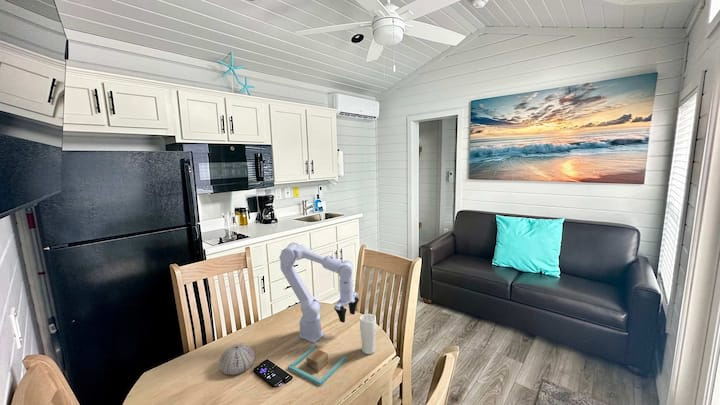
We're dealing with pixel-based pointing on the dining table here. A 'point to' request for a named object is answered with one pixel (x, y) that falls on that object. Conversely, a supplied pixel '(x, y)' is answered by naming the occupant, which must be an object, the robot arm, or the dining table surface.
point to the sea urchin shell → (237, 359)
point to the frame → (308, 376)
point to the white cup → (368, 333)
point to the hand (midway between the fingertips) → (347, 317)
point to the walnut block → (317, 360)
